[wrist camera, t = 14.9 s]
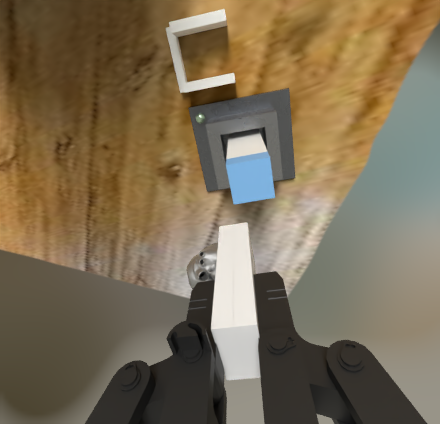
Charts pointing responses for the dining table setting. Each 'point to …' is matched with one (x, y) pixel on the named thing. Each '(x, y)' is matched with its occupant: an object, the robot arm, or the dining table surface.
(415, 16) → the dining table surface
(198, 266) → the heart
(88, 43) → the dining table surface
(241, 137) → the plug
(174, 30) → the holster
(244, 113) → the port panel
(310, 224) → the dining table surface
